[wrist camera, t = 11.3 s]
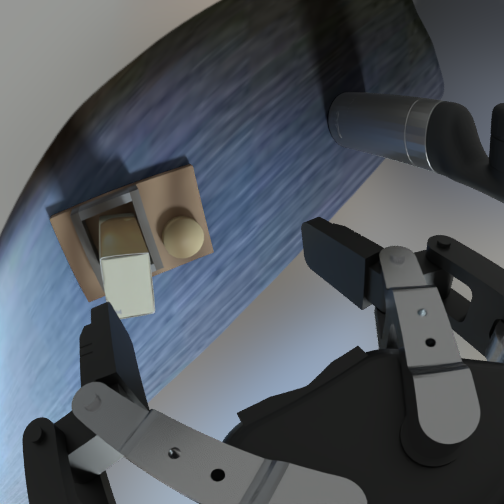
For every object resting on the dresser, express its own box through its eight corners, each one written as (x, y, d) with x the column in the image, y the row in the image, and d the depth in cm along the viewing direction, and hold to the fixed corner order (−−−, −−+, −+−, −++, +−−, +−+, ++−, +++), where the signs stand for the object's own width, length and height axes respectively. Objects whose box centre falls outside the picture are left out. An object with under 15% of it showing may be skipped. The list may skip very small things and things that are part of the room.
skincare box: (137, 259, 36) (156, 316, 26) (103, 264, 34) (110, 324, 25) (134, 209, 34) (151, 252, 24) (98, 213, 32) (98, 258, 22)
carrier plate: (189, 164, 36) (198, 168, 33) (210, 248, 42) (220, 260, 39) (51, 216, 30) (46, 226, 27) (88, 297, 36) (89, 313, 33)
